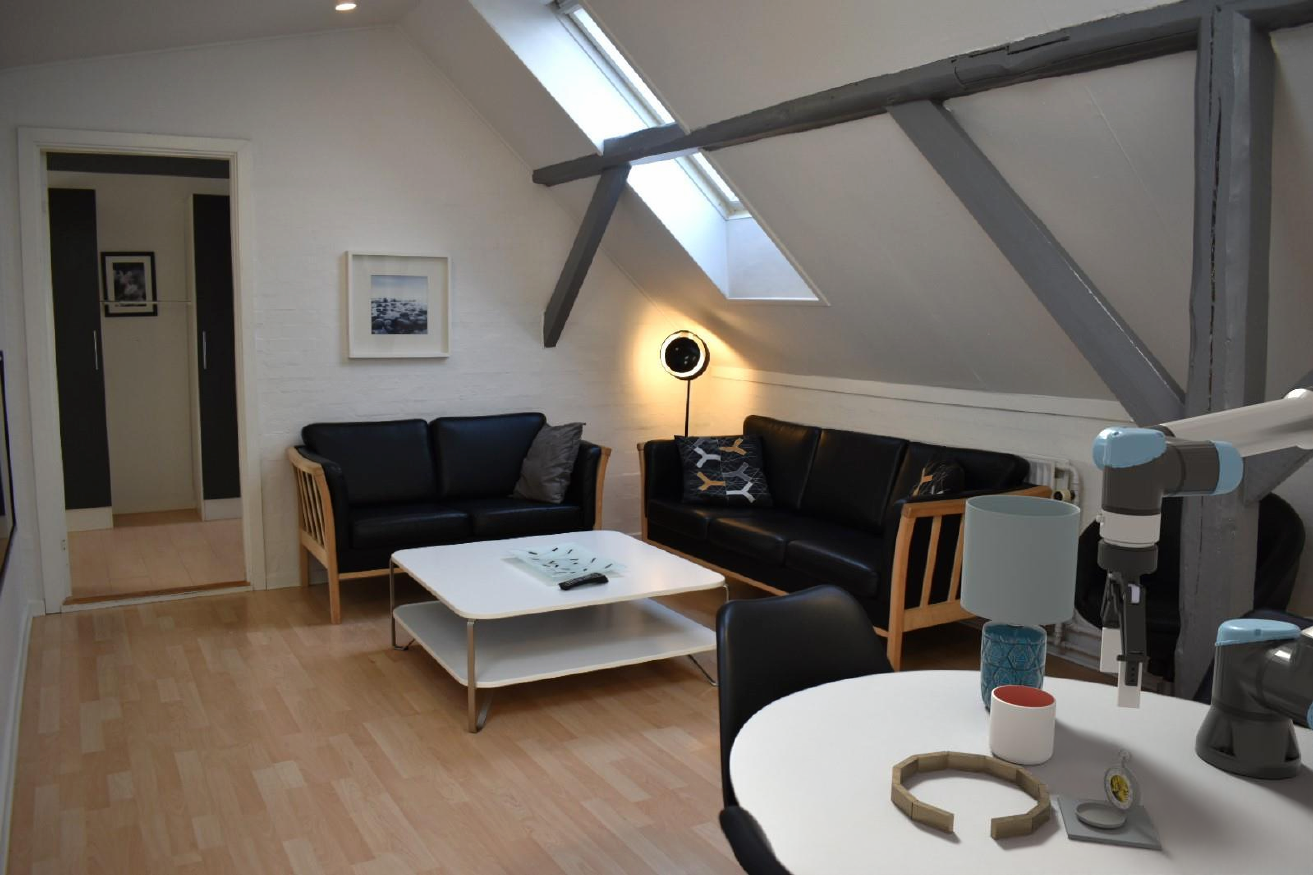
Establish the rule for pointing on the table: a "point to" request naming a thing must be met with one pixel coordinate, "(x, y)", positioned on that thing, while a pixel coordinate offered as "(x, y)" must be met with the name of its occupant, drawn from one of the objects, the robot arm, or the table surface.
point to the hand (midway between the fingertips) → (1118, 688)
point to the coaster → (1130, 833)
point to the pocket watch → (1113, 797)
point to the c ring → (971, 763)
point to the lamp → (1018, 581)
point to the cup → (1022, 724)
